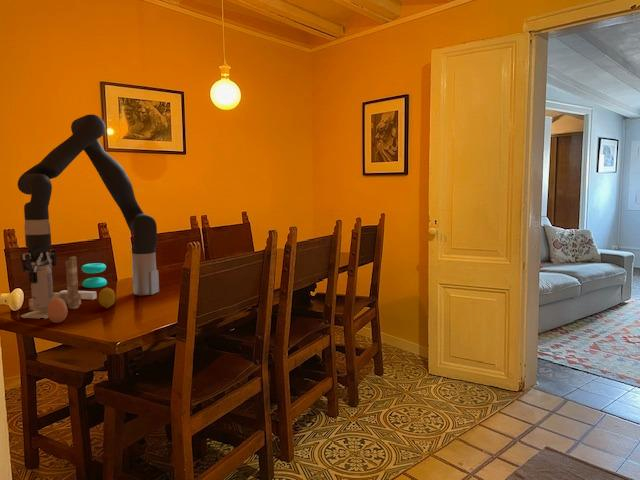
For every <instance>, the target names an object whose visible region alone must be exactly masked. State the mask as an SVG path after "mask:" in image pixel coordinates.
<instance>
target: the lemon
mask: <svg viewBox="0 0 640 480" xmlns="http://www.w3.org/2000/svg"><path fill="white" fill-rule="evenodd" d="M98 302H99V304H100V306H102V307H103V308H105V309H109V308H110V307H112V306H113V305H114V304H115V302H116V293H115V291H114V290H113V289H112V288H109V287H108V286H104V288H102V289H101V290H100V291H99V294H98Z"/></svg>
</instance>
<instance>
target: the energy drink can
mask: <svg viewBox="0 0 640 480" xmlns="http://www.w3.org/2000/svg"><path fill="white" fill-rule="evenodd" d="M33 267H34V266H33ZM36 272H37V283H32V289H31V293H32V292H33V306H34V307H35V308H36V310H46V309H47V308H48V305H49V303H50V301H51V300H52V299H53V293H54V286H53V273H52V272H53V271H52V269H51V268H50V267H49V265H48V264H42V263H41V265H39V266H38V267H37V271H36Z"/></svg>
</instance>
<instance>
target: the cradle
mask: <svg viewBox="0 0 640 480" xmlns="http://www.w3.org/2000/svg"><path fill="white" fill-rule="evenodd" d="M68 259H69V260H66V261H65V274H66V287H67V288H66V290H67V293H60V292H53V299H54V298H61V299H62V300H63V301H64V302H65V303H66V305H67V309H71V310H72V309H75V310H76V309H78V308H79V307H80V305H82V299H81V294H80V293H78V291H79V280H78V265H77V264H78V261H77V256H75V255H73V256H70V257H69V258H68ZM32 263H34V262H32ZM40 265H42V263H40ZM32 268H33V266H32ZM30 288H31V290H32V283H30ZM35 310H36V308H35V307H34V306H33V292H32V291H31V298H29V299H28V311H30V312H32V311H35Z"/></svg>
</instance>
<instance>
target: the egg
mask: <svg viewBox="0 0 640 480" xmlns="http://www.w3.org/2000/svg"><path fill="white" fill-rule="evenodd" d="M68 309H69V308H68V304H66V303H65V302H64V301H63V300H62V299H61V298H54V299H52V300H51V301H50V303H49V305H48V308H47V315H48V317H49V318H48V319H49V321H51V322H52V323H55V324H60V323H62V322H63V321H64V320H65V319H66V318H67V316H68V313H69V312H68Z"/></svg>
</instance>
